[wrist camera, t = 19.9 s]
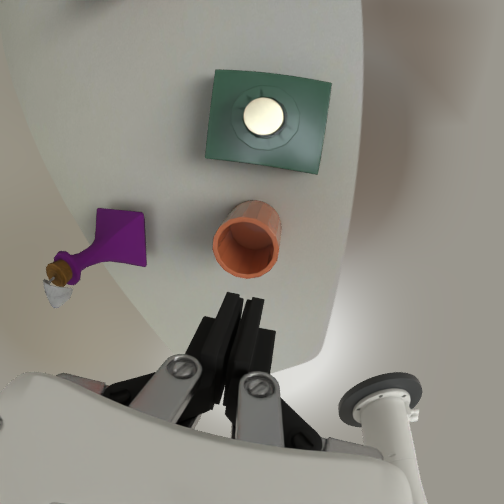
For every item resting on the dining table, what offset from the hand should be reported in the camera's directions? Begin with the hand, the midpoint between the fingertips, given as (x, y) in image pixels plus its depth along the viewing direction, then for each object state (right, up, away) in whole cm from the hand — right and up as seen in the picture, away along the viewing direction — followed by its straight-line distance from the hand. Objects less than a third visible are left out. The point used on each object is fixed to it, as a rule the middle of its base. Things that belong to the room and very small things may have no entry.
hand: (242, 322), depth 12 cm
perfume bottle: (-16, +6, +24) cm, 30 cm away
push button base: (+2, +18, +16) cm, 24 cm away
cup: (+1, +6, +22) cm, 23 cm away
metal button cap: (+2, +16, +12) cm, 20 cm away
